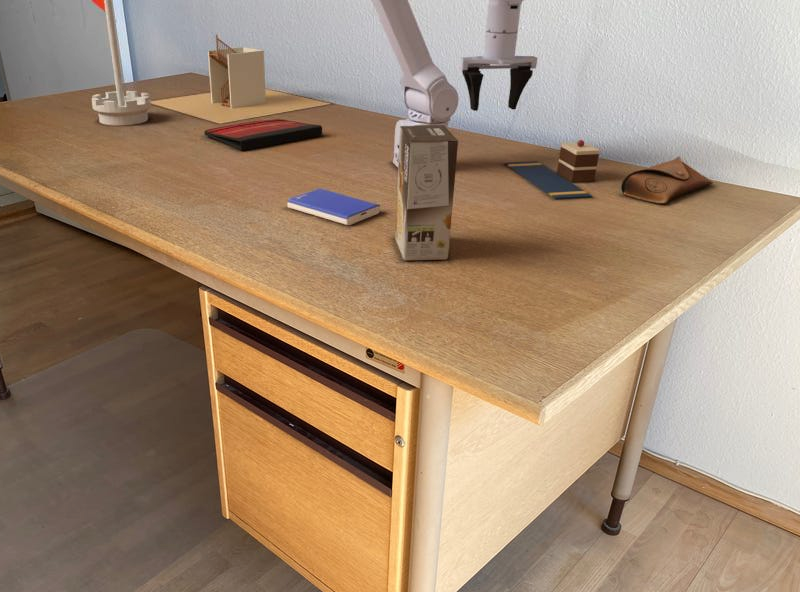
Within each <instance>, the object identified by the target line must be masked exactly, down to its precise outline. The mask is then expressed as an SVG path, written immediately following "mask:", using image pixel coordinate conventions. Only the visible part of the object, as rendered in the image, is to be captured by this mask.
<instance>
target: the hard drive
mask: <svg viewBox="0 0 800 592" xmlns="http://www.w3.org/2000/svg"><path fill="white" fill-rule="evenodd" d="M287 208H289V209H291V210H296V211H298V212H302V213H306V214H309V215H311V216H314V217H315V216H316V217H318V218H322V219H326V220H329V221H332V222H335V223H339V224H342V225H345V226H352V225H353V224H357V223H358V222H360V221H363V220H366V219H369V218H371V217H374V216H376V215H378V214H380V213H381V205H380V204H378V203H375V202H370V201H366V200H364V199H359V198H356V197H352V196H349V195H345V194H341V193H337V192H335V191H331V190H327V189H324V188H317V189H313V190H311V191H308V192H304V193H302V194H299V195H296V196H293V197H290V198H288V199H287Z"/></svg>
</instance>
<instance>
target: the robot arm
mask: <svg viewBox="0 0 800 592" xmlns="http://www.w3.org/2000/svg"><path fill="white" fill-rule="evenodd" d="M524 1H525V0H488V5H487V16H486V23H485V24H486V25H485V35H484V45H483V54H482V55H479V56H467V57H459V60H458V61H459V63H458V69H459V70H461V73H462V77H463V79H464V81H465V85H466V87H467V93H468V97H469V103H470V104H469V105H470V106H469V107H470V110H472V111H474V112H477V111H479V106H480V95H481V94H480V93H481V88H482V82H483V80H484V76H485V75H484V74H483V73H481V72H482V71H481V70H499V69H503V70H504V69H509V75H510V80H509V81H510V85H509V94H508V101H507V103H508V104H507V108H509V109H510V110H517V107H518V103H519V100H520V98H521V96H522V93H523V91H524V89H525V87H526V86H527V84H528V83H529V81H530V79H531V78H532V77H533V73H534V70H533V69H537V65H538V57H537V56H534V55H516V48H517V42H518V34H519V33H518V32H519V25H520V16H521V8H522V7H521V6H522V4H523V2H524ZM371 3H372V5H373V7H374V10H375V12H376V15H377V16H378V18H379V21H380V23H381V25H382V28H383V30H384V33H385V34H386V37H387V39H388V42H389V43H390V46H391V48H392V50H393V53H394V55H395V57H396V60H397V62H398V64H399V66H400V69H401V70H402V73H403V74H402V76H401V78H400V80H399V83H400V85H401V88H402V102H403V104H404V106H405V107H406V109H407V110H408V113H407V115H408V118H406V119H399V120H397V122H396V123H395V128H394V142H393V159H392V163H393V165H395V166H396V167H397V168H398V162H399V140H400V126H415V125H444V126H445V127H446V128H447V129H448V130H449V122H450V121H451V117H452V116H454V114H455V113H456V111H457V109H458V106H459V100H460V99H459V93H458V90H457V88H456V87H454V86H453V85H452V84H450V82H449V80H448V78H447V76H446V74H445V73H444V72H443V71H442V70H441V69H440V68H439V67H438V66H437V65H436V64H435V63H434V62H433V58H432V57H431V53H430V51H429V49H428V47H427V44H426V41H425V39H424V36H423V34H422V32H421V29H420V27H419V24H418V22H417V19H416V17H415V15H414V12H413V10H412V7H411V5H410V2H409V0H371Z"/></svg>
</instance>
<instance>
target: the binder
mask: <svg viewBox="0 0 800 592" xmlns="http://www.w3.org/2000/svg"><path fill="white" fill-rule="evenodd" d="M203 133H204V136H207V137H208V138H212V139H214V140H217V141H219V142H221V143H223V144H227V145H228V146H230V147H232V148H234V149H236V150H238V151H242V152H243V151H248V150H253V149H258V148H263V147H264V148H265V147H268V146H274V145H280V144H285V143H289V142H296V141H300V140H306V139H311V138H315V137H321V136H322V135H323V126H322V125H320V124H313V123H306V122H299V121H293V120H288V119H279V118H278V119H264V120H254V121H248V122H241V123H236V124H229V125H224V126H218V127H213V128H209V129H205V130H204V131H203Z"/></svg>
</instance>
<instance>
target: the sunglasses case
mask: <svg viewBox="0 0 800 592" xmlns="http://www.w3.org/2000/svg"><path fill="white" fill-rule="evenodd" d="M713 183H714V182H713V181H711V180H710V179H709V178H707V177H706V176H704V175H703V174H701V173H700V172H698V171H697V170H696V169H694V168H693V167H691V166H690V165H688V164H687V163H686V162H684V161H683V160H682V159H681V157H680V156H678V157H676V158H674V159H672V160H668V161H663V162H661V163H658V164H655V165H652V166H650V167H646V168H642V169H637V170H634V171H633V172H631V173H629V174H628V175H626V177H624V179H623V180H622V183H621V185H620V186H621V187H620V189H621V192H622V195H623V196H625V197H630V198H632V199H635V200H638V201H643V202H648V203H654V204H667V203H669V202H670V201H673V200H675V199H677V198H679V197H682V196H684V195H687V194H691V193H694V192H696V191H699V190H700V189H703V188H705V187H708V186H709V185H712V184H713Z"/></svg>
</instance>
